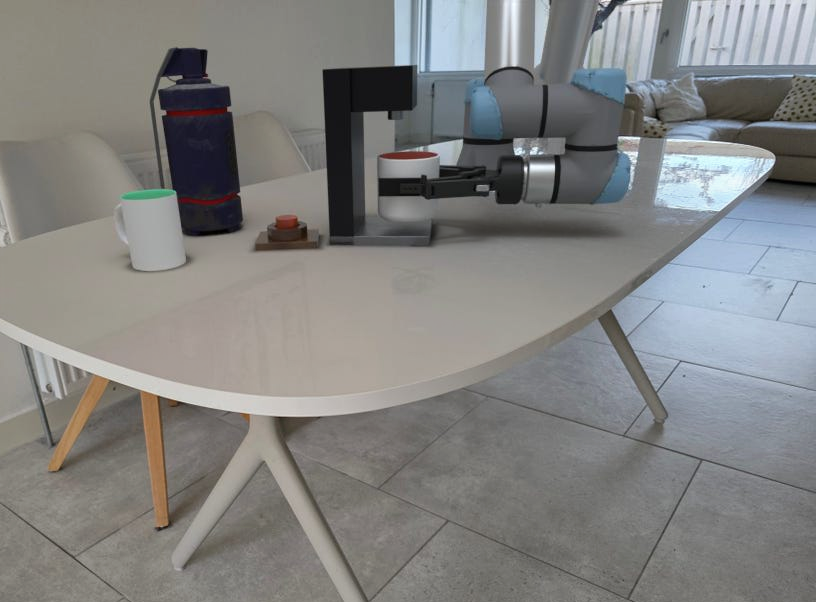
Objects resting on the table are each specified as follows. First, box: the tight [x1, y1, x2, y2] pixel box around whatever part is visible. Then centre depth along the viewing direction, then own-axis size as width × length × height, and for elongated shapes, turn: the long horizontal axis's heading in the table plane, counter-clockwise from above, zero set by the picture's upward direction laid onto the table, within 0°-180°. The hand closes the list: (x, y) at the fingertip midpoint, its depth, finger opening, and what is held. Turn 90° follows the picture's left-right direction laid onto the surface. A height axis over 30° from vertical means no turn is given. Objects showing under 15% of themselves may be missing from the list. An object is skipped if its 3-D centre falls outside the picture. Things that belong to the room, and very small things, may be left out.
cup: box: [376, 150, 441, 223], centre depth 102 cm, size 10×10×10 cm
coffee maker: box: [322, 64, 433, 247], centre depth 100 cm, size 16×14×26 cm
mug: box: [113, 188, 187, 272], centre depth 94 cm, size 12×8×10 cm
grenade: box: [149, 46, 244, 237], centre depth 108 cm, size 14×12×30 cm
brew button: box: [275, 214, 299, 229], centre depth 102 cm, size 4×4×2 cm
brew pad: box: [254, 220, 320, 252], centre depth 102 cm, size 10×8×3 cm
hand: (382, 181), depth 102 cm, fingers closed on cup, 10 cm apart
